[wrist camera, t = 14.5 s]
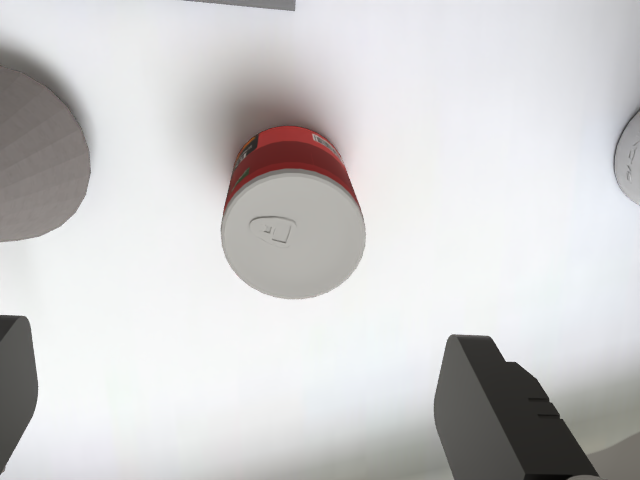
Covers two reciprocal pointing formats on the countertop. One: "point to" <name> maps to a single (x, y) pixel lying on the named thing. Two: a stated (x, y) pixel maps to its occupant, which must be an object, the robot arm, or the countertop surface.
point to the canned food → (291, 215)
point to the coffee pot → (38, 159)
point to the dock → (256, 3)
